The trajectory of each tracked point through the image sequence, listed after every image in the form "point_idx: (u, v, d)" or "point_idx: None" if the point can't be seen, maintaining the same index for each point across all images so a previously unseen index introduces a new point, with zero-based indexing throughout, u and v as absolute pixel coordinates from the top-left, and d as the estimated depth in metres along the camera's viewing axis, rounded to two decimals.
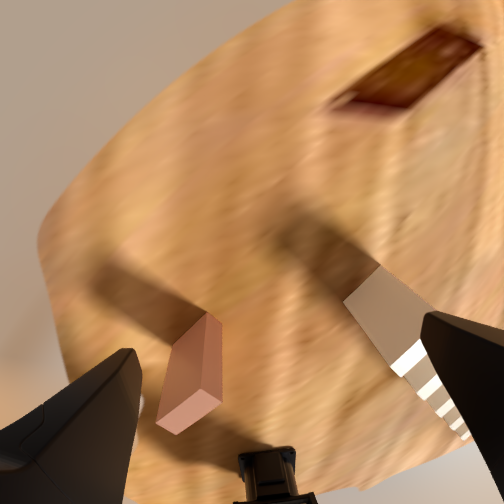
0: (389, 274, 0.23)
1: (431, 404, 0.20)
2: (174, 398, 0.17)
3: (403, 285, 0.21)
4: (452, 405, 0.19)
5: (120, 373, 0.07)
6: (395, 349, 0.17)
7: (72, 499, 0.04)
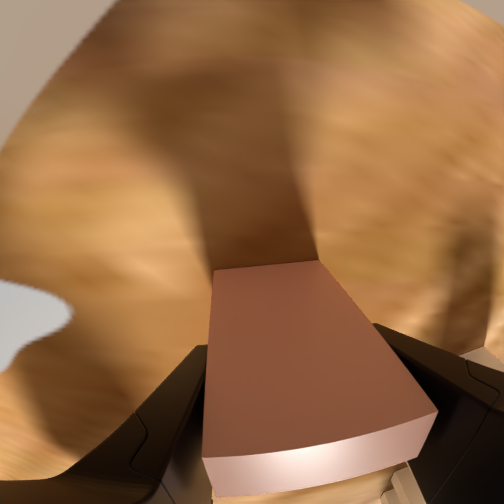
0: (498, 360, 0.14)
1: None
2: (301, 406, 0.05)
3: None
4: None
5: None
6: None
7: None
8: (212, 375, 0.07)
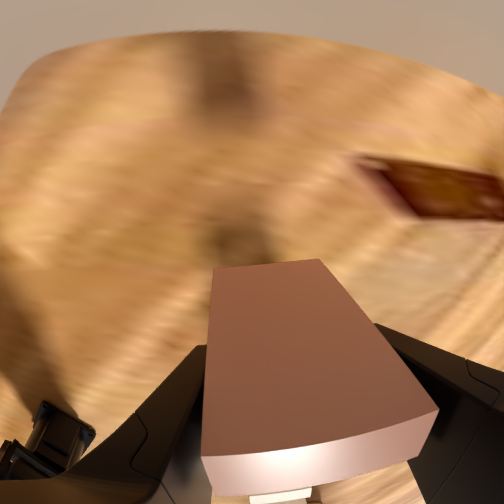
0: None
1: None
2: (300, 404, 0.05)
3: None
4: (269, 501, 0.17)
5: None
6: None
7: None
8: (211, 373, 0.07)
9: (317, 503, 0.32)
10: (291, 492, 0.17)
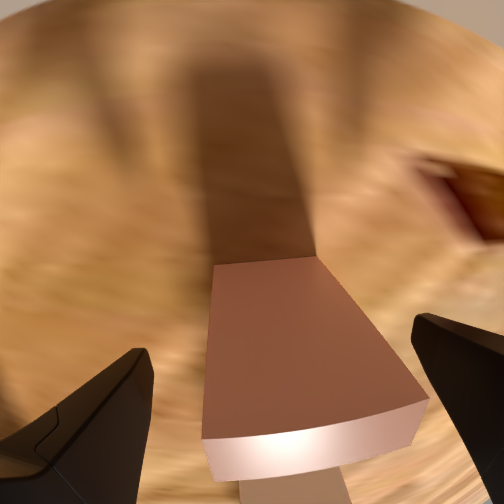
0: None
1: None
2: (297, 391, 0.06)
3: None
4: None
5: (134, 373, 0.07)
6: None
7: (88, 503, 0.04)
8: (212, 362, 0.07)
9: None
10: None
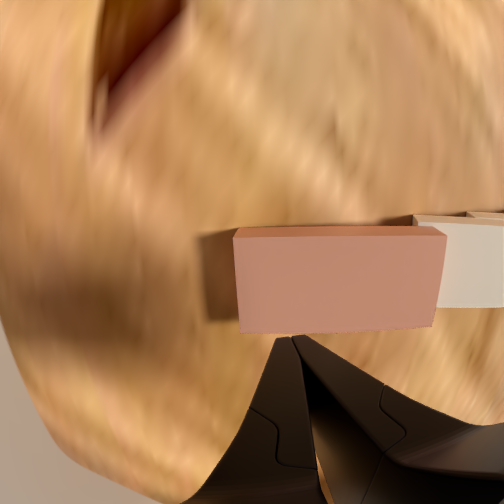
0: (453, 226, 0.12)
1: None
2: (419, 291, 0.12)
3: (492, 228, 0.12)
4: None
5: (300, 361, 0.07)
6: None
7: None
8: (388, 327, 0.13)
9: None
10: None
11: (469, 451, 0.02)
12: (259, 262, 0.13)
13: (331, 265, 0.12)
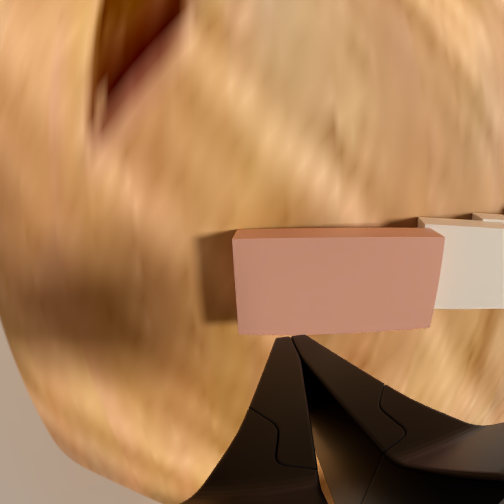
0: (459, 229, 0.13)
1: None
2: (417, 292, 0.12)
3: (496, 231, 0.12)
4: None
5: (300, 361, 0.07)
6: None
7: None
8: (386, 328, 0.13)
9: None
10: None
11: (468, 451, 0.02)
12: (258, 263, 0.13)
13: (330, 266, 0.12)
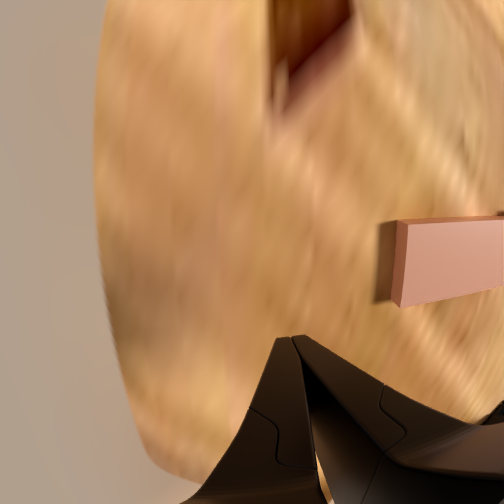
0: None
1: None
2: (501, 259, 0.15)
3: None
4: None
5: (300, 361, 0.07)
6: None
7: None
8: (485, 288, 0.15)
9: None
10: None
11: (468, 451, 0.02)
12: (423, 244, 0.14)
13: (462, 243, 0.14)
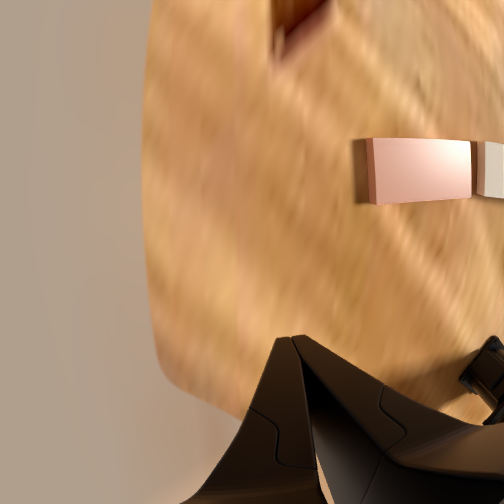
0: (503, 146, 0.18)
1: None
2: (462, 174, 0.19)
3: None
4: None
5: (300, 361, 0.07)
6: None
7: None
8: (451, 197, 0.20)
9: None
10: None
11: (468, 451, 0.02)
12: (387, 153, 0.18)
13: (421, 155, 0.19)
